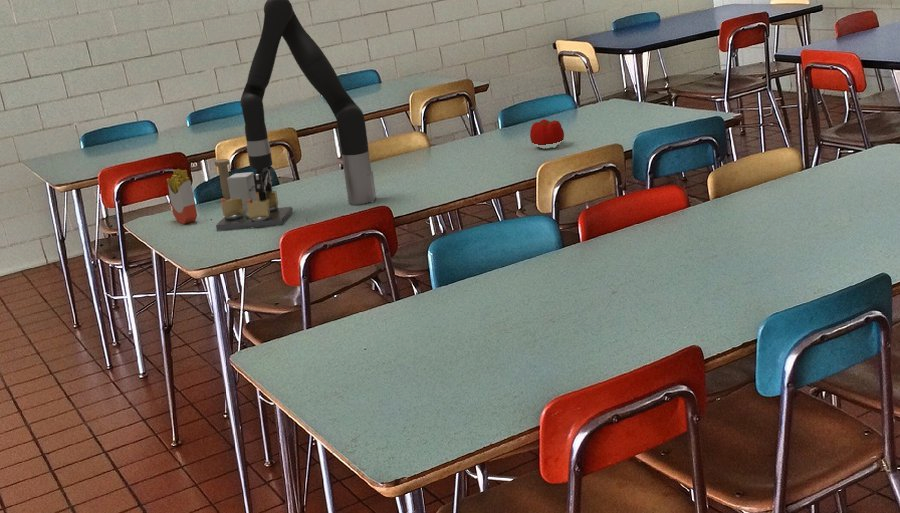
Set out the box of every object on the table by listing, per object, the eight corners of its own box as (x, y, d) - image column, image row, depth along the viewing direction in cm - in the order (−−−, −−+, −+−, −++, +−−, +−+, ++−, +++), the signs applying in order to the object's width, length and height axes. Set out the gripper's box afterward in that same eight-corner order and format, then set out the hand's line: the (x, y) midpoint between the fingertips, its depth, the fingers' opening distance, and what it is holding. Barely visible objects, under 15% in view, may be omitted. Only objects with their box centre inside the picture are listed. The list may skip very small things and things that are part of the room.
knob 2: (280, 206, 356) (277, 187, 354) (276, 210, 350) (273, 191, 348) (262, 208, 357) (258, 188, 355) (257, 212, 351) (254, 193, 349)
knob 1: (240, 213, 353) (237, 193, 351) (246, 216, 348) (242, 196, 346) (222, 217, 350) (218, 198, 348) (227, 220, 345) (223, 200, 343)
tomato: (566, 149, 403) (564, 122, 400) (532, 152, 404) (530, 126, 401) (563, 142, 416) (561, 116, 413) (530, 146, 417) (527, 120, 414)
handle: (225, 203, 380) (217, 163, 376) (220, 200, 386) (212, 160, 381) (237, 200, 382) (230, 160, 378) (232, 197, 388) (225, 158, 383)
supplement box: (252, 212, 362) (246, 176, 359) (232, 213, 364) (226, 178, 360) (259, 206, 369) (253, 171, 366) (240, 207, 371) (234, 173, 367)
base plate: (292, 212, 355) (291, 200, 354) (282, 225, 340) (280, 213, 339) (230, 218, 357) (228, 206, 356) (216, 231, 342) (214, 219, 341)
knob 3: (272, 215, 344) (268, 195, 343) (267, 220, 339) (264, 200, 337) (253, 217, 345) (249, 197, 343) (248, 222, 339) (244, 202, 337)
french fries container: (186, 225, 355) (176, 173, 349) (173, 220, 363) (163, 170, 358) (198, 222, 357) (188, 170, 352) (185, 217, 366) (175, 167, 360)
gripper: (265, 156, 341) (272, 204, 345) (275, 147, 354) (282, 193, 359) (242, 158, 341) (250, 206, 346) (253, 149, 355) (260, 195, 360)
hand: (266, 199), depth 353 cm, fingers open, 8 cm apart
